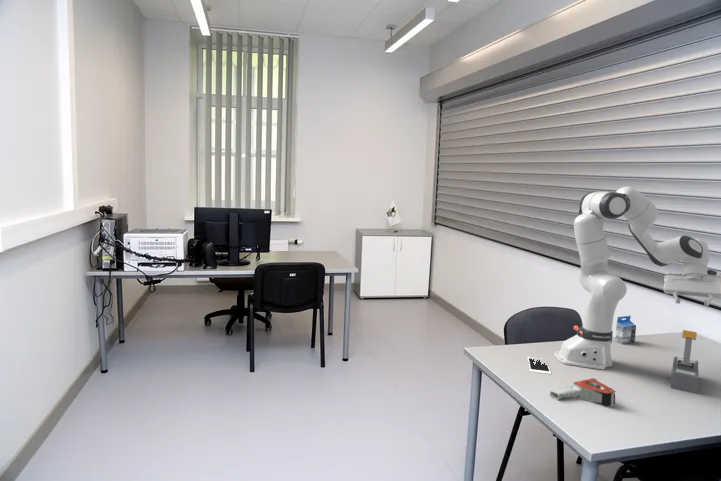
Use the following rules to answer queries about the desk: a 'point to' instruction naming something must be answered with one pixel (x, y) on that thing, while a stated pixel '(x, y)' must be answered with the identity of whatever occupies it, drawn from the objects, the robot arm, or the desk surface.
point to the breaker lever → (687, 348)
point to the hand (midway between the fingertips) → (691, 304)
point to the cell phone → (538, 366)
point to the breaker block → (684, 376)
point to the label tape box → (625, 330)
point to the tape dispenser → (588, 392)
